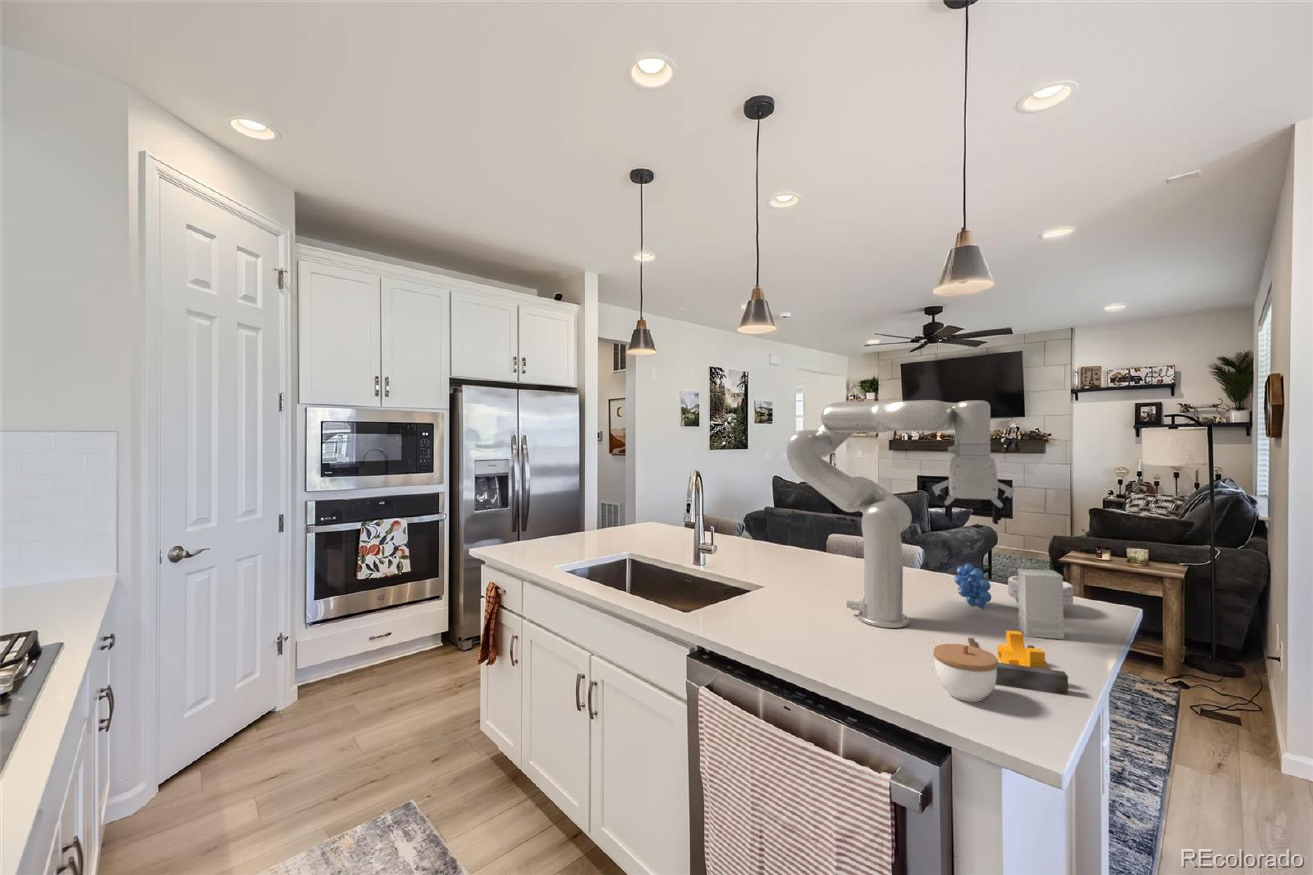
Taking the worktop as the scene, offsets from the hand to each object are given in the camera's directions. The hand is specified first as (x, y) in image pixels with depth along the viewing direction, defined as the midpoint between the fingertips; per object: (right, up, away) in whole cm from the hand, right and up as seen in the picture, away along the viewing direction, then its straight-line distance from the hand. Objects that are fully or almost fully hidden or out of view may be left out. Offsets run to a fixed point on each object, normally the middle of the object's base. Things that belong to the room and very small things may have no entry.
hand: (972, 522), depth 133 cm
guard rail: (0, -28, -15) cm, 32 cm away
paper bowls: (+33, -29, +23) cm, 49 cm away
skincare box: (+19, -29, +3) cm, 34 cm away
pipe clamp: (0, -29, -18) cm, 34 cm away
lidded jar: (-18, -29, -29) cm, 44 cm away
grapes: (+14, -28, +26) cm, 41 cm away
